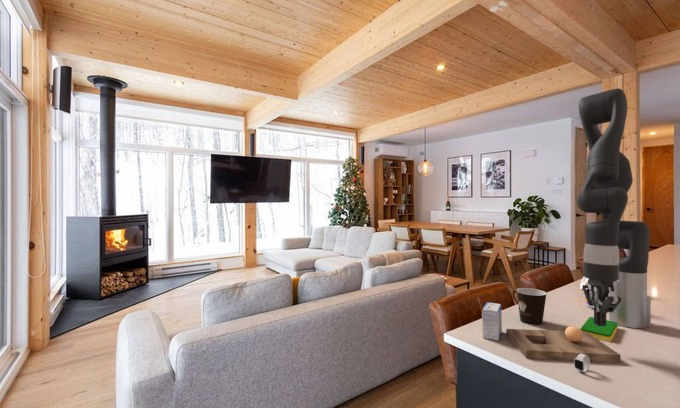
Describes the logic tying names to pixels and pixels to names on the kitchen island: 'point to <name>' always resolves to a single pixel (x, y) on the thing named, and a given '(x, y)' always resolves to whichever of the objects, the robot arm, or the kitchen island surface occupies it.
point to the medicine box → (492, 321)
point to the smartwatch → (582, 362)
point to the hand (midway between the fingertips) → (599, 325)
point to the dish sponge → (600, 329)
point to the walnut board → (560, 346)
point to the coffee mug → (530, 305)
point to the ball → (574, 334)
